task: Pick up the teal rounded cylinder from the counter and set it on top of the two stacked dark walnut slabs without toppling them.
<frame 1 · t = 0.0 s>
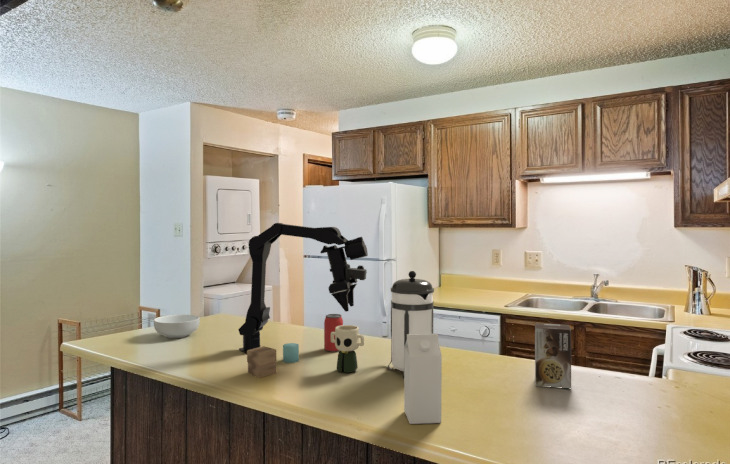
hand: (349, 308, 155), 15 cm above the countertop, tool pointing down, fingers open, 9 cm apart
bottom slab: (262, 373, 136), on the countertop, touching top slab
cereal bowl: (177, 336, 181), on the countertop
cookie box: (552, 385, 127), on the countertop
top slab: (261, 361, 136), point 3 cm above the countertop, touching bottom slab
milk carton: (422, 418, 105), on the countertop
beer can: (333, 350, 161), on the countertop
teal rounded cylinder: (290, 360, 149), on the countertop
character mug: (347, 371, 138), on the countertop
coffee press: (408, 371, 138), on the countertop
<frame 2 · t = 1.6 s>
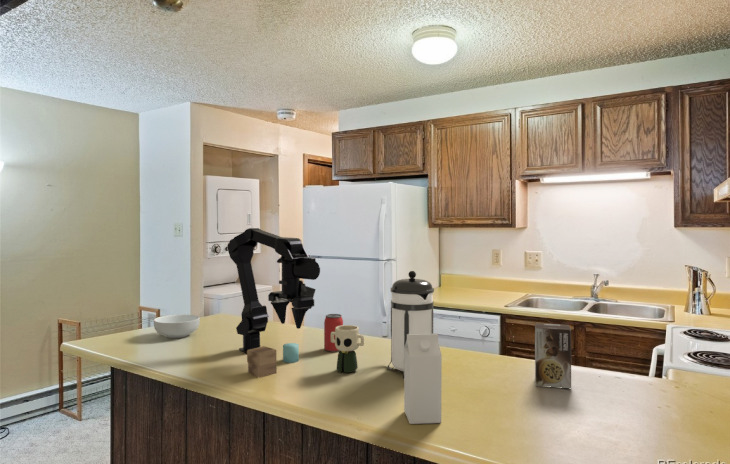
hand: (290, 325, 149), 11 cm above the countertop, tool pointing down, fingers open, 9 cm apart
nothing on the countertop moved.
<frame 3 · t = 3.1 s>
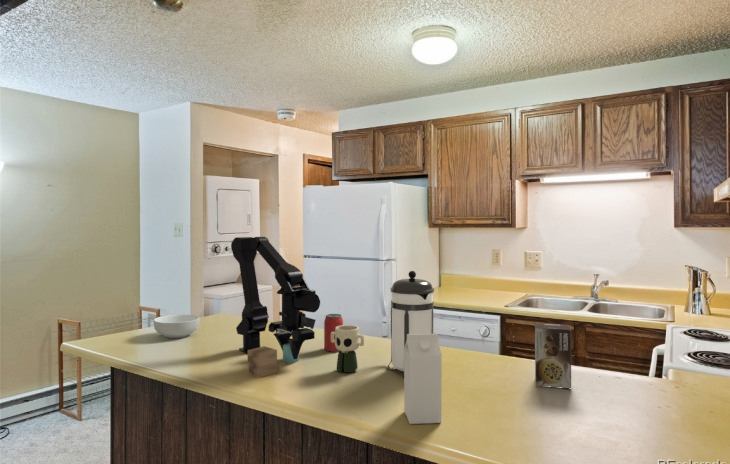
hand: (290, 357, 149), 1 cm above the countertop, tool pointing down, fingers closed on teal rounded cylinder, 5 cm apart
teal rounded cylinder: (290, 360, 149), on the countertop, touching gripper
everything else where it was.
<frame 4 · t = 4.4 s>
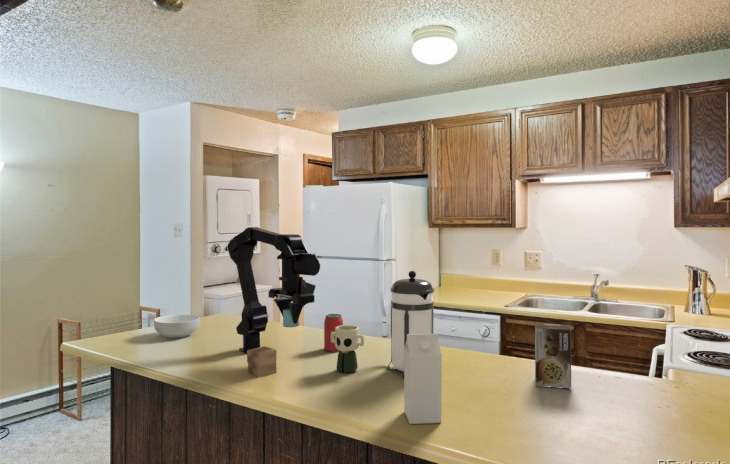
hand: (290, 322, 148), 12 cm above the countertop, tool pointing down, fingers closed on teal rounded cylinder, 5 cm apart
bottom slab: (262, 373, 136), on the countertop
top slab: (261, 361, 136), point 3 cm above the countertop
teal rounded cylinder: (290, 325, 148), point 11 cm above the countertop, touching gripper
everything else where it was.
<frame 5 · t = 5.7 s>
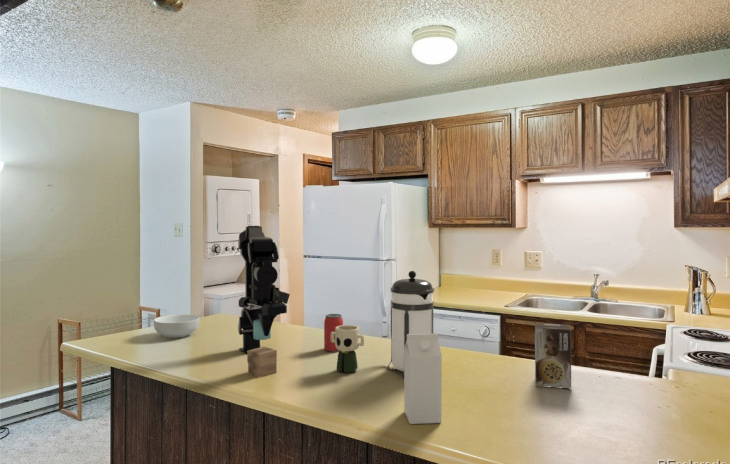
hand: (262, 334, 136), 11 cm above the countertop, tool pointing down, fingers closed on teal rounded cylinder, 5 cm apart
bottom slab: (262, 373, 137), on the countertop, touching top slab
top slab: (262, 362, 136), point 3 cm above the countertop, touching bottom slab
teal rounded cylinder: (262, 337, 136), point 10 cm above the countertop, touching gripper
everything else where it was.
when the fingers open (9 cm above the countertop, at t = 6.5 s): teal rounded cylinder drops 1 cm, resting on top slab.
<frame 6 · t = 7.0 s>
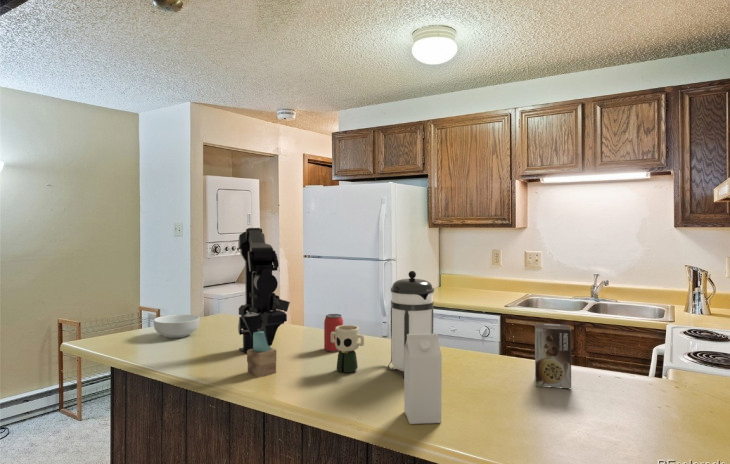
hand: (262, 342, 136), 9 cm above the countertop, tool pointing down, fingers open, 9 cm apart
top slab: (261, 361, 136), point 3 cm above the countertop, touching bottom slab, teal rounded cylinder
teal rounded cylinder: (261, 350, 136), point 7 cm above the countertop, touching top slab
everything else where it was.
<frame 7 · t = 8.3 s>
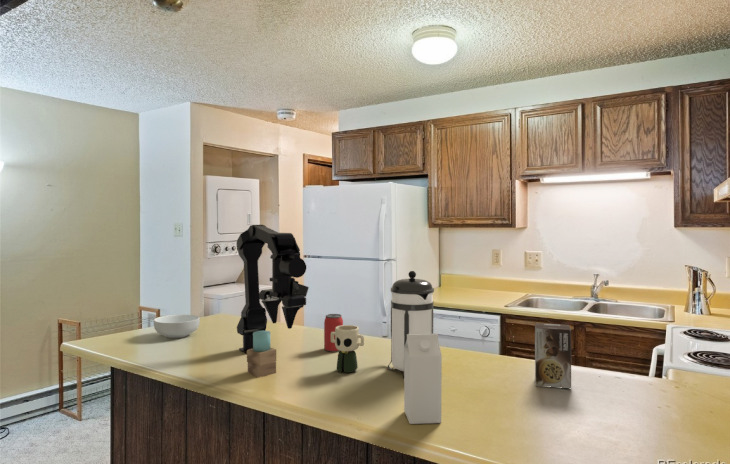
hand: (282, 325, 141), 13 cm above the countertop, tool pointing down, fingers open, 9 cm apart
top slab: (261, 361, 137), point 3 cm above the countertop, touching bottom slab
teal rounded cylinder: (261, 349, 137), point 7 cm above the countertop
everything else where it was.
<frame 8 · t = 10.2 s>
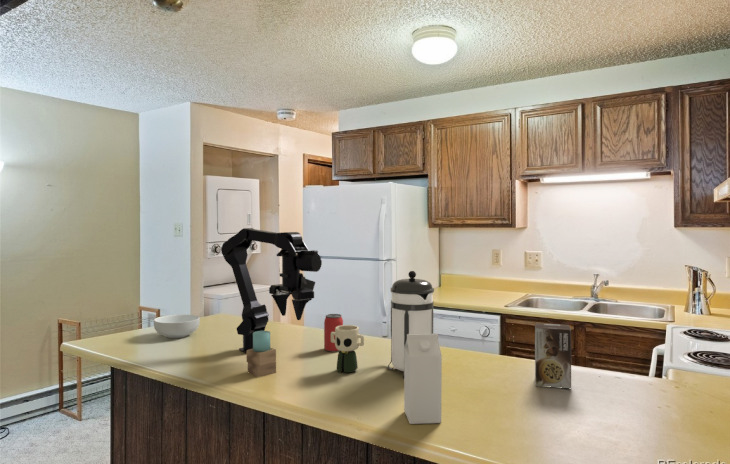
hand: (291, 317, 152), 13 cm above the countertop, tool pointing down, fingers open, 9 cm apart
nothing on the countertop moved.
at the end: teal rounded cylinder 0.2 cm off-centre on the top slab, point 3.5 cm above the top slab's base; top slab 0.1 cm off-centre on the bottom slab, point 3.5 cm above the bottom slab's base; teal rounded cylinder tilted 0° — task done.
